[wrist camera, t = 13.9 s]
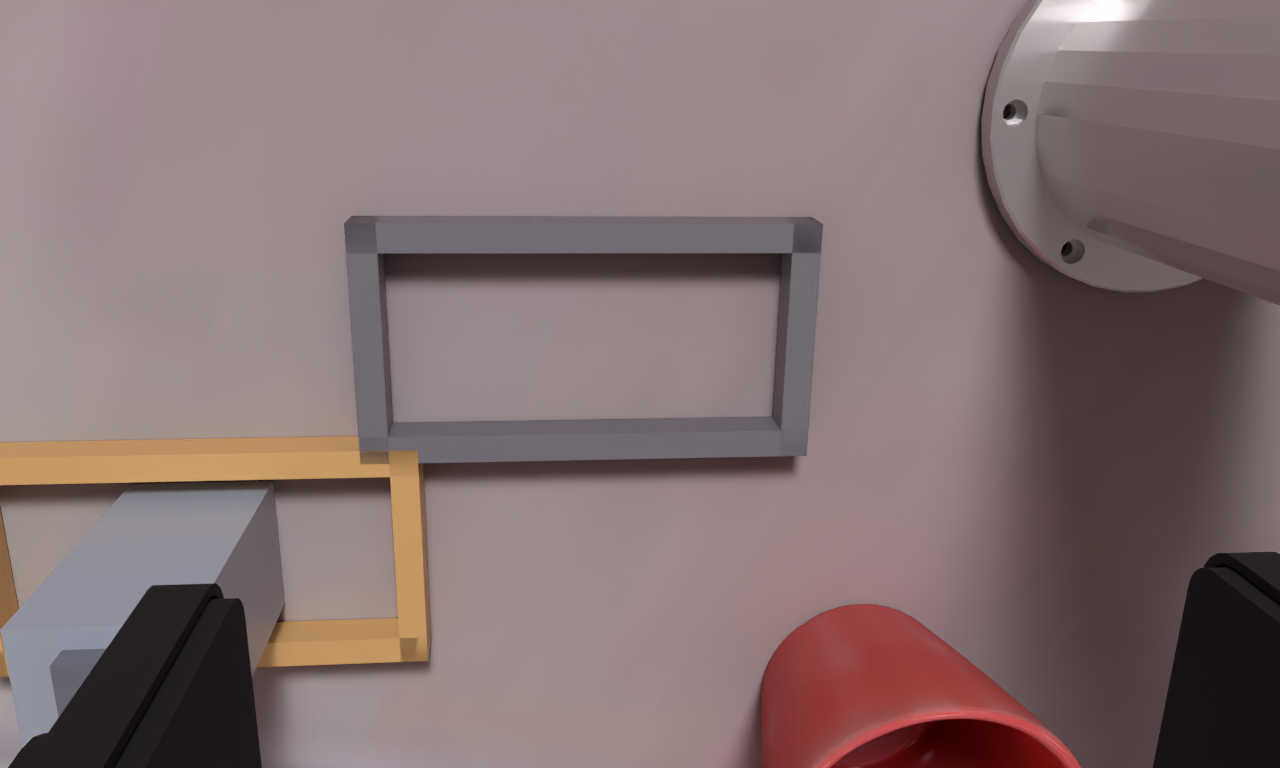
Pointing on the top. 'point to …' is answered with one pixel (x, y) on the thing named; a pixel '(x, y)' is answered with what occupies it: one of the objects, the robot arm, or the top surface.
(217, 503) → the plug
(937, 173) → the top surface
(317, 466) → the tan grey double frame
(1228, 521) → the top surface
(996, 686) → the flower pot
